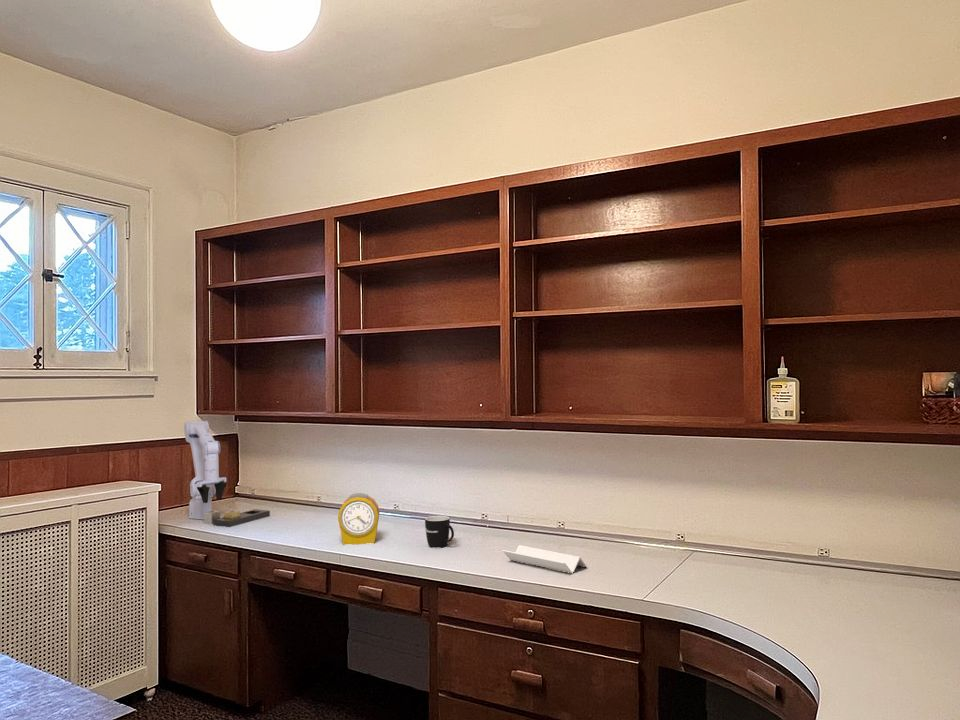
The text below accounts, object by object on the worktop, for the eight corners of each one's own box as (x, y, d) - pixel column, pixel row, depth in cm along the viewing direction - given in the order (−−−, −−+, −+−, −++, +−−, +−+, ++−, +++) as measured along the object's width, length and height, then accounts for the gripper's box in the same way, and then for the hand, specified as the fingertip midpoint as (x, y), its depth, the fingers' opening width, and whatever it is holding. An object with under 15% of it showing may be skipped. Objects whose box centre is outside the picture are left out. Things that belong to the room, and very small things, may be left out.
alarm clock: (338, 545, 272) (337, 495, 272) (340, 540, 280) (339, 492, 280) (378, 543, 273) (377, 494, 273) (380, 538, 281) (379, 490, 281)
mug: (420, 546, 267) (419, 519, 267) (436, 541, 274) (436, 514, 275) (445, 551, 260) (445, 522, 260) (461, 546, 267) (461, 518, 267)
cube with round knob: (204, 523, 315) (204, 512, 315) (212, 521, 319) (212, 510, 319) (211, 524, 313) (211, 512, 313) (220, 522, 317) (219, 510, 317)
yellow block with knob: (224, 524, 314) (224, 512, 314) (232, 522, 318) (231, 510, 318) (231, 525, 311) (231, 513, 311) (239, 522, 315) (239, 511, 315)
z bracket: (519, 571, 249) (527, 555, 253) (580, 584, 233) (588, 567, 236) (502, 550, 243) (510, 535, 246) (564, 563, 226) (572, 546, 230)
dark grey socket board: (213, 525, 311) (213, 519, 311) (254, 514, 333) (254, 509, 333) (229, 527, 307) (228, 521, 307) (269, 516, 328) (269, 510, 328)
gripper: (205, 472, 308) (205, 504, 308) (231, 467, 321) (231, 498, 320) (193, 471, 311) (193, 503, 311) (219, 467, 324) (219, 497, 324)
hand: (212, 501), depth 316 cm, fingers open, 7 cm apart
